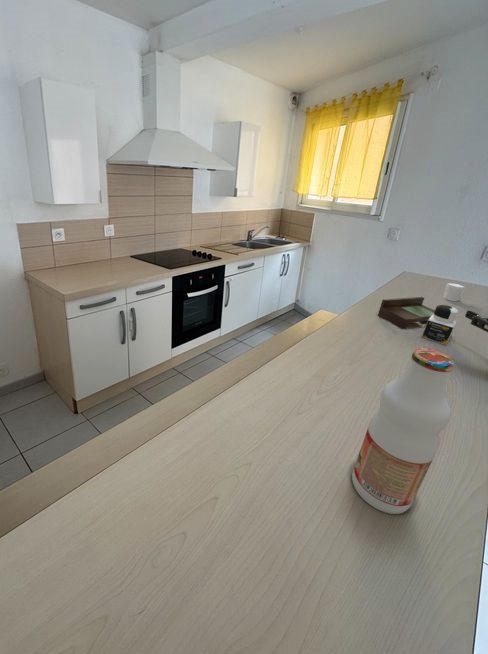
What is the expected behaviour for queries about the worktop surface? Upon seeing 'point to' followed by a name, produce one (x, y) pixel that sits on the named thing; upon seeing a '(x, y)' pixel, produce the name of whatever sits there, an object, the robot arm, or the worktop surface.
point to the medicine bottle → (441, 324)
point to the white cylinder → (453, 291)
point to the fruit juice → (404, 433)
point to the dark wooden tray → (404, 311)
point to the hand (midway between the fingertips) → (480, 313)
